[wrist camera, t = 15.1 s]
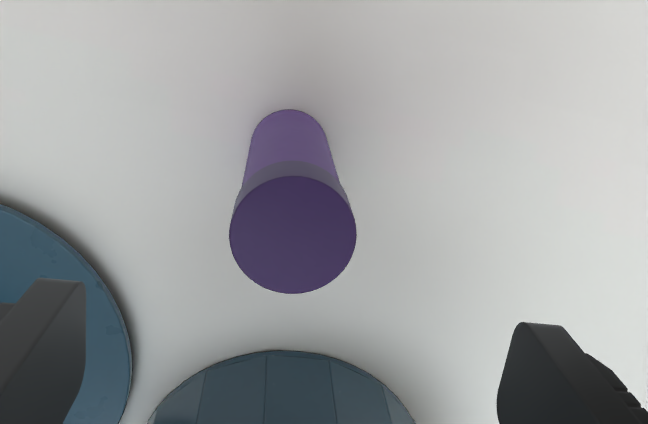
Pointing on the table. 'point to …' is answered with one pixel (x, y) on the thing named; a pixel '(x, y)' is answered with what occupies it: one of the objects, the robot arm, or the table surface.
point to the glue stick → (291, 208)
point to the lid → (101, 312)
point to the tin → (281, 393)
